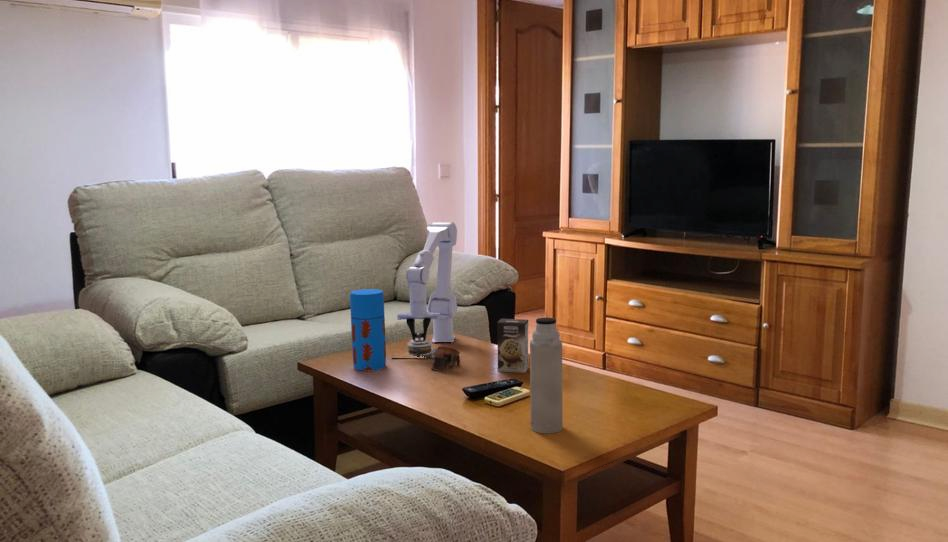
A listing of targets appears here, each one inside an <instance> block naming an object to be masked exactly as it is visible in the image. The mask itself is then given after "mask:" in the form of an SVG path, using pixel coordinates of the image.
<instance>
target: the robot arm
mask: <svg viewBox="0 0 948 542" xmlns="http://www.w3.org/2000/svg"><path fill="white" fill-rule="evenodd" d="M426 226H427V227H426V235H427V238H426V240H425V241H426V242H425V244H424V246H423V250H420V251H419V252H418V254H416V255H417V256H416V258H415V260H414V261H413V264H412V266H410V267H408V268H407V269H406V273H405V279H406V283H407V288H408V289H409V312H404V313H403V312H402V313H397V321H401V320H406V322H405V323H406V324H407V327H408V328H409V331H410V334H411V337H412V339H413V340H415V338H416V337H415V333H416V325H415V323H416V320H422V326H423V328H422V329H423V332H422V333H423V337H422V338H423V340H426V339H427V332H428V330H429V326H430V323H431V321H432V325H433V326H432V329H433V337H432V339H431V342H433V343H432V344H436V343H435V342H451V343H454V342H455V337H456V336H455V335H454V334H453V333H454V332H453V329H454V328H453V327H454V326H453V325H454V324H453V318H454V317H455V316H456V315H457V312H458V303H457V296H456V295H455V294H454V293H453V292H451V289H450V288H451V275H452V262H453V261H452V260H453V259H452V258H453V247H454V246H456V245H457V238H458V237H457V236H458V229H457V225H456V223H455V222H454V221H453V222H449V221H448V222H443V221H442V222H441V221H440V222H438V221H430V222H428V224H427V225H426ZM437 248H438V258H437V261H438V262H437V273H436V287H435V288H436V290H434V291H433V292H432V293H431V294H430V295H429V300H428V303H427V283H428V282H429V277H430V273H431V271H430V269H431V267H432V264H433V261H434V258H435V256H434V255H433V254H434V253H435V251H436V250H437Z"/></svg>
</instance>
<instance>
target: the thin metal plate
mask: <svg viewBox="0 0 948 542" xmlns="http://www.w3.org/2000/svg"><path fill="white" fill-rule="evenodd" d="M432 344H433V343H432V341H430V340H429V342H428V343H425V344H412V343H410V341H408V342H407V349H408V354H409V355H413V356H417V357H420V356H422V357H423V356H424V359H434V355H433V354H434V353H435V352H436V350H438V347H432ZM431 348H433V350H432V349H431ZM434 348H435V349H434ZM425 357H426V358H425ZM392 358H393V357H392V356H391V359H392ZM395 358H396V357H395Z"/></svg>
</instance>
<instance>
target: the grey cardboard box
mask: <svg viewBox="0 0 948 542" xmlns="http://www.w3.org/2000/svg"><path fill="white" fill-rule="evenodd" d="M528 369H529V319H523V318H522V319H521V318H520V319H518V318H500V319H499V320H498V321H497V372H502V373H503V372H505V373H519V374H520V373H521V374H524V373H526V372H527V371H528Z"/></svg>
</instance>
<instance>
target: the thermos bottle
mask: <svg viewBox="0 0 948 542" xmlns="http://www.w3.org/2000/svg"><path fill="white" fill-rule="evenodd" d="M556 322H557V320H556V318H554V317H538V318H536V320H535V323H536V324H535V330H533V331H532V335H531V340H529V356H530V357H529V359H530V360H529V361H530V362H529V372H530V374H529V385H530V386H529V387H530V389H529V390H530V391H529V395H530V399H529V401H530V404H529V405H530V429H531V430H532V431H533V432H535V433H538V434H539V433H540V434H555V433H559V432H561V431H562V430H563V423H564V422H563V420H564V419H563V418H564V417H563V340H562V339H560V336H561V335H560V331H559V330H557V328H556V326H557V325H556Z"/></svg>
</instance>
